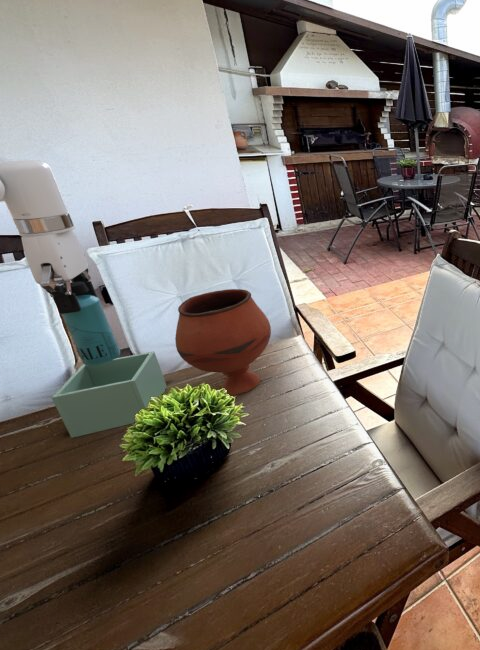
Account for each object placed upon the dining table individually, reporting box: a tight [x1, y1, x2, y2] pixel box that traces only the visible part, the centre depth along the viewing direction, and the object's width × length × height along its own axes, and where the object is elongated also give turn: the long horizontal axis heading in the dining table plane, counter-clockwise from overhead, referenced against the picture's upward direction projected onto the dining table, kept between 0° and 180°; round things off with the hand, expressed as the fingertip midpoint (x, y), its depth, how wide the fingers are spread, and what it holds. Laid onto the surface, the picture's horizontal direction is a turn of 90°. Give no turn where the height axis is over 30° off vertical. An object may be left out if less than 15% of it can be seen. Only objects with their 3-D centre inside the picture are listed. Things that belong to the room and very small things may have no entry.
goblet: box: [174, 288, 272, 396], centre depth 100 cm, size 19×19×25 cm
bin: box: [51, 351, 168, 439], centre depth 94 cm, size 14×14×11 cm
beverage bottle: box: [60, 281, 121, 366], centre depth 88 cm, size 6×7×20 cm
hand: (79, 304), depth 86 cm, fingers closed on beverage bottle, 6 cm apart
